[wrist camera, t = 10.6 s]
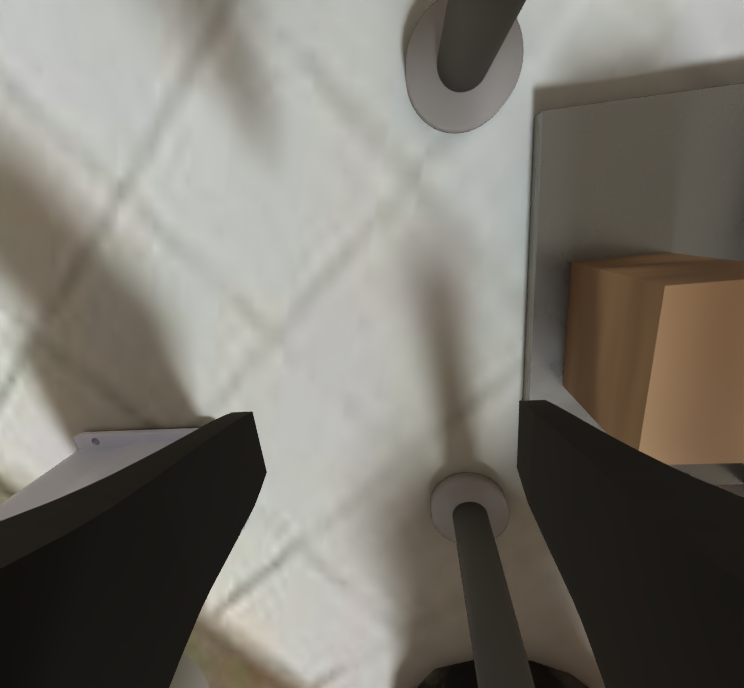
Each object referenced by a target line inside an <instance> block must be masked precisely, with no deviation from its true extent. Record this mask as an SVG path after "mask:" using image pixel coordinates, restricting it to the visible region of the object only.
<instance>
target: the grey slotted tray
mask: <svg viewBox="0 0 744 688" xmlns="http://www.w3.org/2000/svg"><path fill="white" fill-rule="evenodd" d="M664 253H678V254H686V255H694V256H702V257H711V258H719V259H727V260H735V261H743V262H744V83H741V84H733V85H726V86H719V87H712V88H704V89H697V90H690V91H682V92H675V93H668V94H661V95H653V96H646V97H639V98H631V99H624V100H617V101H610V102H602V103H595V104H588V105H580V106H573V107H566V108H558V109H551V110H544V111H542V112H541V113H540V114H538V115H537V116H536V117H535V119H534V144H533V168H532V193H531V217H530V242H529V266H528V291H527V315H526V340H525V364H524V389H523V401H526V400H546V401H549V402H551V403H553V404H555V405H557V406H559V407H560V408H562V409H564V410H566V411H568V412H569V413H571V414H573V415H575V416H576V417H578V418H580V419H582V420H583V421H585V422H587V423H589V424H590V425H592V426H594V427H596V428H598V429H599V430H601V431H603V432H605V431H604V430H603V429H602V428H601V427H600V426H599V425H598V423H597V422H596V421H595V420H594V419H593V418H592V417H591V416H590V415H589V414H588V413H587V412H586V411H585V409H584V408H583V407H582V406H581V405H580V404H579V403H578V402H577V401H576V400H575V399H574V398H573V397H572V395H571V394H570V393H569V392H568V391H567V390H566V389H565V388H564V387H563V375H564V362H565V348H566V334H567V321H568V307H569V293H570V280H571V266H572V262H576V261H587V260H598V259H609V258H620V257H631V256H642V255H653V254H664ZM605 433H606V432H605ZM669 466H671V467H673V468H675V469H677V470H680V471H682V472H684V473H686V474H688V475H690V476H693V477H695V478H697V479H700V480H702V481H704V482H707V483H709V484H712V485H741V484H744V463H721V464H677V465H669Z"/></svg>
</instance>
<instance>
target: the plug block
mask: <svg viewBox="0 0 744 688" xmlns="http://www.w3.org/2000/svg"><path fill="white" fill-rule="evenodd" d="M563 387H564V388H565V389H566V390H567V391H568V392H569V393H570V394H571V395H572V397H573V398H574V399H575V400H576V401H577V402H578V403H579V404H580V405H581V406H582V407H583V408H584V409H585V411H586V412H587V413H588V414H589V415H590V416H591V417H592V418H593V419H594V420H595V421H596V422H597V423H598V425H599V426H600V427H601V428H602V429H603V430H604V431H605V432H606V433H607V434H608V435H610V436H612V437H614V438H616V439H618V440H619V441H621V442H623V443H625V444H627V445H629V446H631V447H633V448H635V449H637V450H638V451H640V452H643V453H645V454H647V455H649V456H651V457H653V458H655V459H657V460H659V461H661V462H663V463H665V464H667V465H677V464H721V463H744V262H743V261H735V260H727V259H719V258H711V257H702V256H694V255H686V254H678V253H664V254H653V255H642V256H631V257H620V258H609V259H598V260H587V261H576V262H572V266H571V280H570V293H569V307H568V321H567V334H566V348H565V362H564V375H563Z"/></svg>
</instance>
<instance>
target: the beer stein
mask: <svg viewBox="0 0 744 688" xmlns="http://www.w3.org/2000/svg"><path fill="white" fill-rule="evenodd" d="M528 663H529V667H530V671H531V674H532V678H533V682H534V685H535V688H588V687H587V686H586V685H584V684H583V683H582V682H580V681H579V680H578V679H576V678H575V677H574V676H572V675H571V674H568V673H565V672H562V671H559V670H556V669H553V668H550V667H547V666H544V665H541V664H538V663H535V662H532V661H528ZM417 688H478V682H477V675H476V669H475V662H474V660H472V661H468V662H464V663H460V664H455V665H451V666H447V667H442V668H438V669H435V670H434V671H433V672H432V673H431V674H430V675H429V676H428V677H427V678H426V679H425V680H424V681H423V682H422V683H421V684H420V685H419V686H418V687H417Z"/></svg>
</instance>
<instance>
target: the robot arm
mask: <svg viewBox="0 0 744 688" xmlns="http://www.w3.org/2000/svg"><path fill="white" fill-rule="evenodd" d="M74 441H75V444H76V446H77V449H78V451H76V452H75V453H74V454H72V455H71V456H69V457H68V458H66V459H65V460H63V461H62V462H61V463H59V464H58V465H56V466H55V467H53V468H52V469H51V470H49V471H48V472H46V473H45V474H43V475H42V476H40V477H39V478H38V479H36V480H35V481H33V482H32V483H30V484H29V485H28V486H26V487H25V488H23V489H22V490H20V491H19V492H18V493H16V494H15V495H13V496H12V497H10V498H9V499H7V500H6V501H5V502H3V503H2V504H0V688H169V686H170V684H171V681H172V679H173V676H174V674H175V671H176V669H177V666H178V663H179V661H180V658H181V656H182V653H183V651H184V649H185V646H186V644H187V642H188V639H189V637H190V634H191V632H192V630H193V627H194V625H195V623H196V620H197V618H198V615H199V613H200V611H201V608H202V606H203V604H204V602H205V600H206V598H207V596H208V594H209V592H210V590H211V588H212V586H213V584H214V582H215V580H216V578H217V577H218V575H219V573H220V571H221V569H222V567H223V565H224V563H225V561H226V560H227V558H228V556H229V554H230V552H231V550H232V548H233V546H234V544H235V543H236V541H237V539H238V537H239V535H240V534H241V533H242V531H243V529H244V528H245V527H244V525H245V523H246V522H247V520H248V518H249V516H250V514H251V512H252V510H253V508H254V506H255V503H256V501H257V498H258V495H259V493H260V490H261V487H262V484H263V481H264V479H265V476H266V473H267V472H266V467H265V463H264V459H263V455H262V450H261V446H260V442H259V438H258V433H257V429H256V425H255V421H254V416H253V412H233V413H230V414H227V415H225V416H222V417H220V418H218V419H216V420H214V421H212V422H210V423H208V424H206V425H204V426H202V427H201V428H182V429H154V430H126V431H98V432H81V433H79V434H78V435H76V436H75V438H74ZM517 469H518V472H519V476H520V479H521V482H522V486H523V489H524V492H525V495H526V498H527V501H528V504H529V506H530V508H531V511H532V513H533V515H534V517H535V520H536V522H537V524H538V526H539V528H540V530H541V533H542V535H543V537H544V539H545V541H546V543H547V546H548V548H549V550H550V552H551V554H552V556H553V558H554V561H555V563H556V565H557V567H558V569H559V571H560V573H561V576H562V578H563V580H564V582H565V584H566V586H567V588H568V591H569V593H570V595H571V597H572V599H573V602H574V604H575V606H576V609H577V611H578V614H579V616H580V618H581V621H582V623H583V626H584V629H585V632H586V634H587V637H588V640H589V643H590V645H591V648H592V651H593V654H594V656H595V659H596V662H597V665H598V667H599V670H600V673H601V676H602V678H603V681H604V684H605V687H606V688H744V498H742V497H740V496H737V495H735V494H733V493H730V492H728V491H726V490H723V489H721V488H719V487H716V486H714V485H712V484H709V483H707V482H704V481H702V480H700V479H697V478H695V477H693V476H690V475H688V474H686V473H684V472H682V471H680V470H677V469H675V468H673V467H671V466H669V465H667V464H665V463H663V462H661V461H659V460H657V459H655V458H653V457H651V456H649V455H647V454H645V453H643V452H640V451H638V450H637V449H635V448H633V447H631V446H629V445H627V444H625V443H623V442H621V441H619V440H618V439H616V438H614V437H612V436H610V435H608V434H607V433H605V432H603V431H601V430H599V429H598V428H596V427H594V426H592V425H590V424H589V423H587V422H585V421H583V420H582V419H580V418H578V417H576V416H575V415H573V414H571V413H569V412H568V411H566V410H564V409H562V408H560V407H559V406H557V405H555V404H553V403H551V402H549V401H546V400H526V401H519V428H518V455H517Z"/></svg>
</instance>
